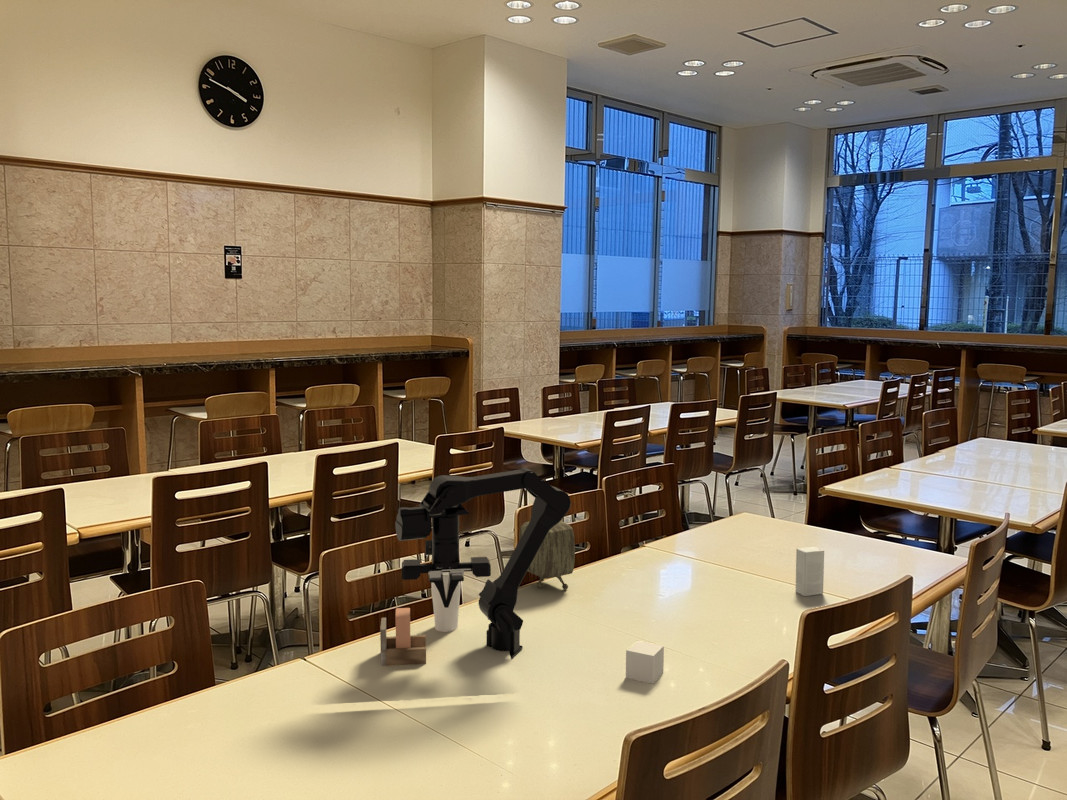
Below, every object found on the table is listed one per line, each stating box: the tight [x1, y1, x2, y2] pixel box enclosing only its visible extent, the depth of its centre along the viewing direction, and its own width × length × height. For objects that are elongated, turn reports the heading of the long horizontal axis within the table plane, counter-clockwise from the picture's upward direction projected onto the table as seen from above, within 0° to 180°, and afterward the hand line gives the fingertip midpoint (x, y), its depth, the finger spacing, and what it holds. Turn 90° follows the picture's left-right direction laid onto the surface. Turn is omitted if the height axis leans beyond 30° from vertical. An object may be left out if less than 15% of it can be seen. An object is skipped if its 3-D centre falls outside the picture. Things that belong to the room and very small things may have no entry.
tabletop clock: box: [518, 520, 576, 591], centre depth 237 cm, size 14×9×25 cm, turn 34°
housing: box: [379, 617, 427, 667], centre depth 187 cm, size 10×8×9 cm
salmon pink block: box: [395, 607, 411, 649], centre depth 187 cm, size 3×5×10 cm, turn 8°
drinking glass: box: [430, 572, 462, 633], centre depth 204 cm, size 7×7×15 cm
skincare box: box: [795, 546, 825, 597], centre depth 233 cm, size 6×4×12 cm
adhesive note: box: [625, 640, 665, 684], centre depth 182 cm, size 6×6×6 cm
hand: (446, 607), depth 188 cm, fingers closed
